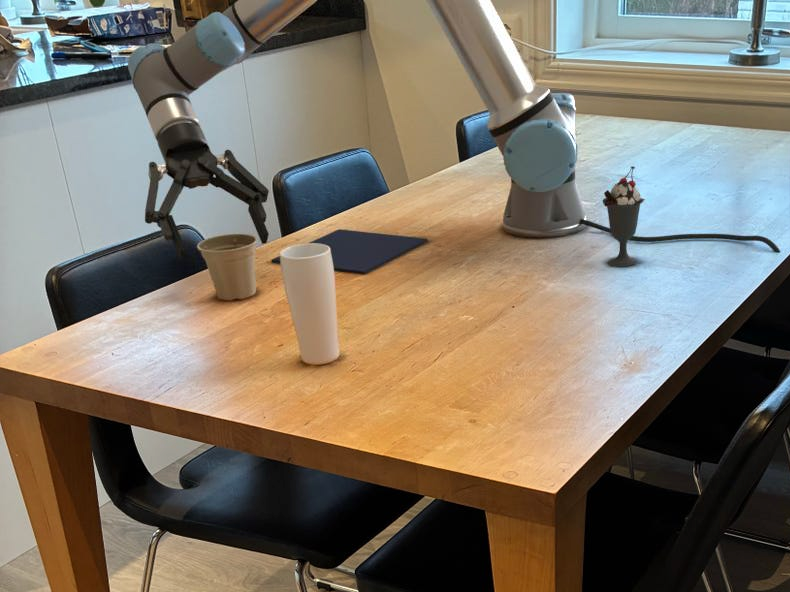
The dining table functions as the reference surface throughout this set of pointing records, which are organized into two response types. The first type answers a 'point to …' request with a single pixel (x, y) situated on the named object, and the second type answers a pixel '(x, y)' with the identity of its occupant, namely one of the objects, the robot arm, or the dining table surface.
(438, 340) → the dining table surface
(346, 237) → the placemat
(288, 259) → the white vase
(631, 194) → the sundae
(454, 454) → the dining table surface
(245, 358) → the dining table surface
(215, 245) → the flower pot
